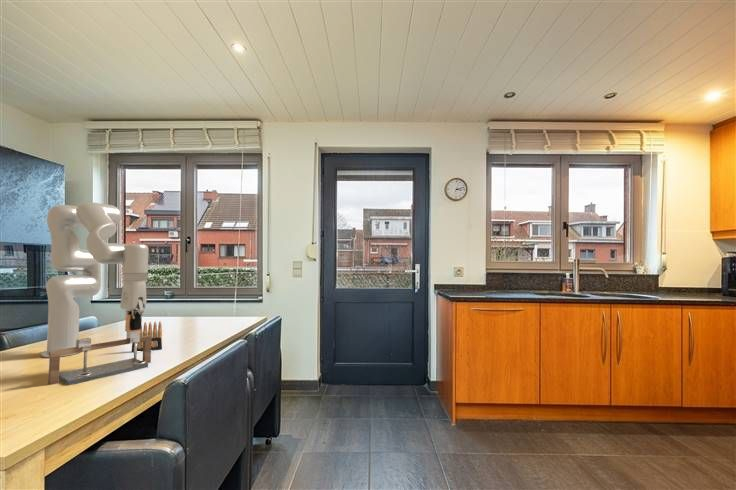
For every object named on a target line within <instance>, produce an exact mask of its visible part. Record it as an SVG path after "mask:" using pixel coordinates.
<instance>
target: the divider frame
mask: <svg viewBox="0 0 736 490" xmlns="http://www.w3.org/2000/svg"><path fill="white" fill-rule="evenodd" d="M152 336H153V335H152ZM152 336H151V335H148V334H147V336H143V335H142V337H140V342H143V351H142V361H146V362H145V363H148V364H150V363H151V361H152V351H151V340H152ZM123 345H124V346H125V345H131V344H130V339H126V338H125V339H118V340H112V341H105V342H100V343H99V342H98V343H92V338H90V337H83V338H78V339H76V347H74V348H67V349H61V350H55V351H49V357H48V358H49V360H48V361H49V363H48V385H55V384H59V383H60V382H59V381H60V380H59V373H60V367H61V366H60V365H61V361H60V360H61V357H62V356H61V355H67V354H73V353H77V354H80V353H83V367H82V368H83V372H86V371H87V367H88V352H89V351H90V352H91V351H96V350H101V349H107V348H113V347H119V346H123ZM79 352H80V353H79ZM73 355H74V354H73ZM60 356H61V357H60Z"/></svg>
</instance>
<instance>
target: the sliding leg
mask: <svg viewBox="0 0 736 490" xmlns="http://www.w3.org/2000/svg"><path fill="white" fill-rule="evenodd" d="M131 319H132V314H126V313H125V327H124V331H125V332H126V337H125V339H130V344H129V345H132V343H134V352H133V358H134V362H136V359H137V355H138V352H137V342H140V330H141V329H139V330H130V324H131ZM142 320H143V319H142V318H141V326H142V327H143V324H142V322H143V321H142Z"/></svg>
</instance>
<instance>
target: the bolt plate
mask: <svg viewBox="0 0 736 490" xmlns="http://www.w3.org/2000/svg"><path fill="white" fill-rule="evenodd" d="M145 362H146V361H143V360H140V359H137V358H136V362H134V357H132V358H127V359H123V360H118V361H113V362H109V363H103V364H98V365H93V366H87V371H86V372H83V367H82V368H77V369H72V370H69V371H62V372H59V381H61V382H63V383H64V384H66V385H67V386H71V385H76V384H80V383H85V382H89V381H93V380H98V379H102V378H106V377H110V376H115V375H119V374H120V375H121V374H123V373H124V374H125V373H129V372H133V371H137V370H142V369H145V368H149V363H145Z"/></svg>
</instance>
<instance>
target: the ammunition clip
mask: <svg viewBox="0 0 736 490" xmlns="http://www.w3.org/2000/svg"><path fill="white" fill-rule="evenodd" d="M157 325H158V326H157ZM152 327H153V328H152ZM157 327H158V328H157ZM162 327H163V326H162V321H161V320H159V322H158V324H157V322H156V321H154V322H153V325H152V321H149V323H148V324H147V322H146V321H144V323H143V325H142V326H141V330H140V337H142V336H148V335H151V336H152V340H151V350H152V351H159V350H162V349H163V329H162ZM137 351H141V352H143V342H137ZM131 353H134V343H131Z"/></svg>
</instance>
